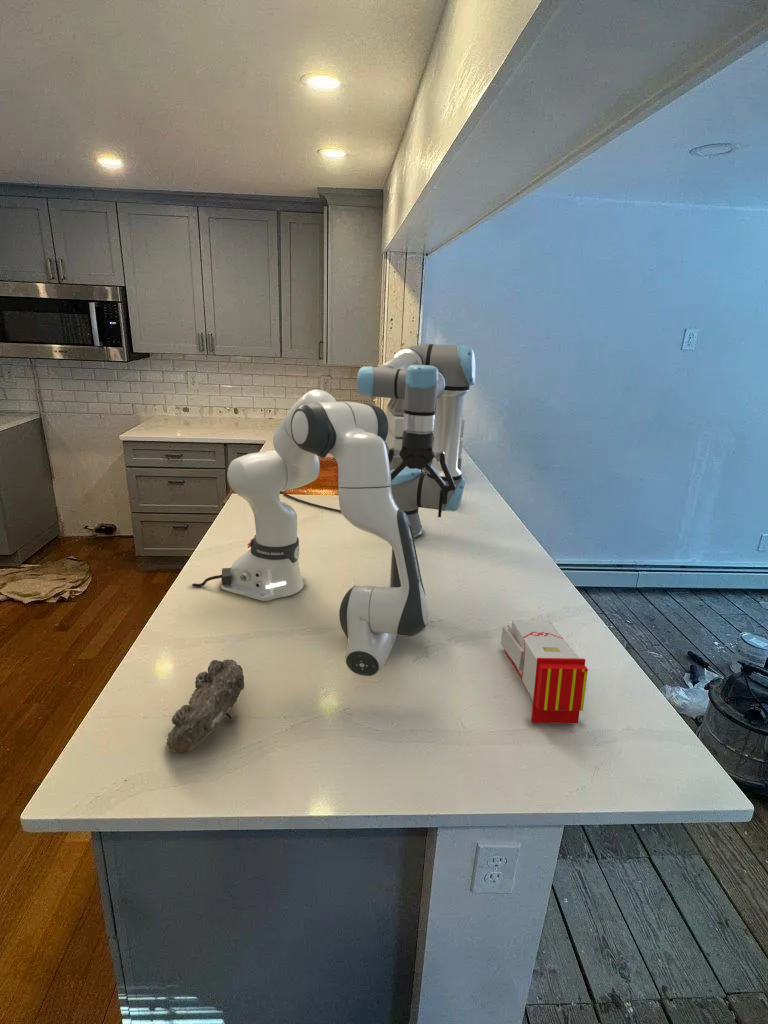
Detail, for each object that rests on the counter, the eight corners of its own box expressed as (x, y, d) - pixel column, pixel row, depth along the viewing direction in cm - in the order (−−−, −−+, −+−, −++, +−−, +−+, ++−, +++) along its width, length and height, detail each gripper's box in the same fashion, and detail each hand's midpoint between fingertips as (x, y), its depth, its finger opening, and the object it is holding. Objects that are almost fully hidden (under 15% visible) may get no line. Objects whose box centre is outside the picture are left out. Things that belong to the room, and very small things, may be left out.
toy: (547, 606, 135) (596, 665, 106) (541, 658, 138) (589, 729, 108) (496, 604, 134) (532, 664, 105) (492, 657, 137) (526, 729, 108)
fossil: (192, 660, 117) (244, 628, 112) (224, 691, 120) (276, 661, 115) (142, 746, 98) (202, 712, 93) (182, 779, 101) (242, 748, 96)
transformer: (382, 463, 289) (386, 382, 275) (445, 464, 293) (451, 384, 279) (390, 482, 257) (394, 392, 243) (460, 483, 261) (468, 394, 247)
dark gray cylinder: (390, 609, 150) (394, 542, 143) (387, 600, 154) (390, 534, 148) (410, 608, 150) (414, 541, 144) (406, 599, 155) (410, 534, 149)
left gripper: (425, 621, 127) (434, 593, 140) (338, 607, 131) (355, 581, 144) (423, 645, 129) (432, 615, 142) (338, 630, 133) (354, 603, 146)
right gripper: (469, 431, 140) (461, 512, 147) (369, 424, 142) (366, 504, 149) (470, 437, 133) (462, 522, 140) (365, 430, 135) (362, 514, 142)
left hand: (393, 598), depth 143 cm, fingers open, 8 cm apart
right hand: (412, 513), depth 145 cm, fingers open, 13 cm apart
